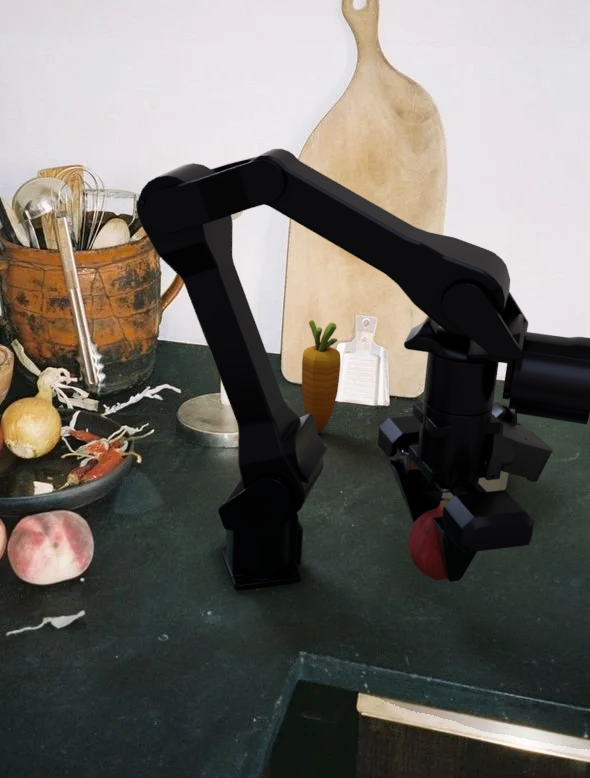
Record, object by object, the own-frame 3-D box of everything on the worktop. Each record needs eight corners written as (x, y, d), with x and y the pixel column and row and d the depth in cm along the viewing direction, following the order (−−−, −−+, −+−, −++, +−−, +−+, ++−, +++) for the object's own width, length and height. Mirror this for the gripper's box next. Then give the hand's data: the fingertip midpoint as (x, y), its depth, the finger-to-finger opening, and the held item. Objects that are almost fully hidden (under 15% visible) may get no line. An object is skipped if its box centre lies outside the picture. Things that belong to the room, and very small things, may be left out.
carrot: (291, 426, 119) (296, 315, 113) (328, 422, 120) (334, 312, 115) (305, 444, 114) (311, 329, 109) (343, 439, 116) (351, 325, 110)
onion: (470, 603, 81) (480, 523, 78) (403, 593, 82) (411, 515, 79) (469, 565, 86) (479, 489, 84) (406, 556, 87) (413, 481, 85)
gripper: (608, 444, 71) (577, 613, 77) (493, 353, 88) (474, 497, 94) (474, 458, 69) (452, 631, 74) (382, 361, 86) (369, 508, 91)
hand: (439, 559), depth 84 cm, fingers closed on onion, 6 cm apart
